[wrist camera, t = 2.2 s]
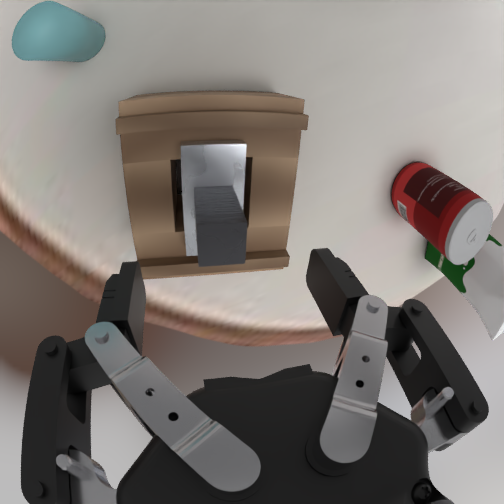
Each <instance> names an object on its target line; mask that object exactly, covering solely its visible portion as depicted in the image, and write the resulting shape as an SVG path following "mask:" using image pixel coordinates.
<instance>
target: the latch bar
mask: <svg viewBox="0 0 504 504" xmlns="http://www.w3.org/2000/svg"><path fill="white" fill-rule="evenodd" d="M246 147H247V144H246V143H245V141H244V140H206V141H183V142H181V177H182V198H183V215H184V230H185V243H186V256H196V255H198V266H199V267H206V266H220V265H234V264H245V259H246V241H247V220H246V217H245V215H244V212H243V205H244V185H245V165H246Z"/></svg>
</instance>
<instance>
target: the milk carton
mask: <svg viewBox="0 0 504 504" xmlns="http://www.w3.org/2000/svg"><path fill="white" fill-rule="evenodd" d="M425 259H427V260H428V261H429V262H430V263H431V264H432V265H434V266H435V267H436V268H437V269H438V270H440V271H441V272H442V273H443V274H444V275H445V276H446V277H447V278H448V279H449V280H450V281H451V282H452V283H453V285H454V286H455V287H456V288H457V289H458V290H459V291H460V292H461V294H462V295H463V296H464V297H465V298H466V299H467V301H469V303H470V304H471V305H472V306H473V308H474V309H475V310H476V311H477V313H478V314H479V315H480V317H481V319H482V321H483V323H484V325H485V327H486V329H487V331H488V333H489V335H490V338H491V340H492V341H493V340H494V339H495V338H497V337H498V336H499V335H500V334H502V333H504V246H502V245H501V244H500V243H499V242H498V241H497V240H496V239H494V238H493V237H492V236H491V235H490V234H489V235H488V237H487V239H486V241H485V243H484V245H483V246H482V248H481V249H480V250H479V252H478V253H477V254H476V255H475V256H474V257H473V258H472V259H470V260H469V261H467V262H466V263H464V264H461V265H456V264H453V263H452V262H451V261H449V260H448V259H447V258H446V257H445V256H444V255H443V254H442V253H441V252H439V251H438V250H437V249H436V248H435V247H434V246H433V245H432V244H431V243H430V242H429V241H428V244H427V250H426V255H425Z"/></svg>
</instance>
